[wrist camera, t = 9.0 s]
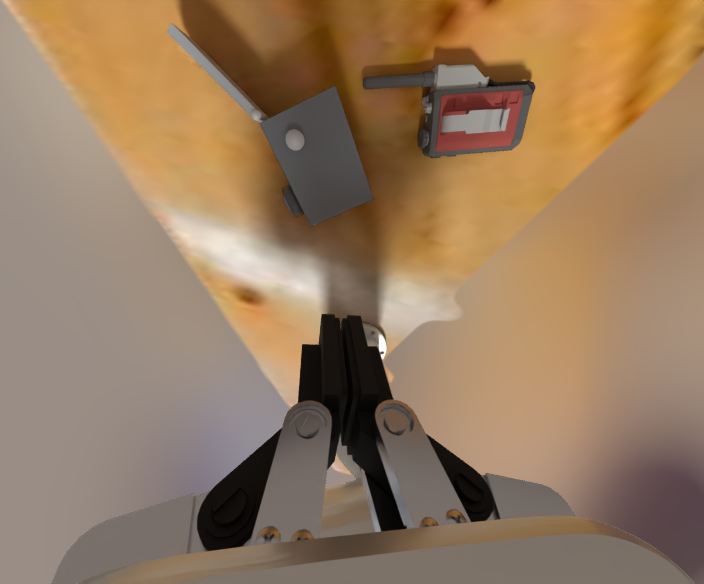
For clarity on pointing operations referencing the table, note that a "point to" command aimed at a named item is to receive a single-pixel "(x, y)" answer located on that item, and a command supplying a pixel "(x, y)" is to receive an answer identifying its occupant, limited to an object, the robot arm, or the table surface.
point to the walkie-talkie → (465, 109)
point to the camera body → (318, 158)
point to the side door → (215, 72)
